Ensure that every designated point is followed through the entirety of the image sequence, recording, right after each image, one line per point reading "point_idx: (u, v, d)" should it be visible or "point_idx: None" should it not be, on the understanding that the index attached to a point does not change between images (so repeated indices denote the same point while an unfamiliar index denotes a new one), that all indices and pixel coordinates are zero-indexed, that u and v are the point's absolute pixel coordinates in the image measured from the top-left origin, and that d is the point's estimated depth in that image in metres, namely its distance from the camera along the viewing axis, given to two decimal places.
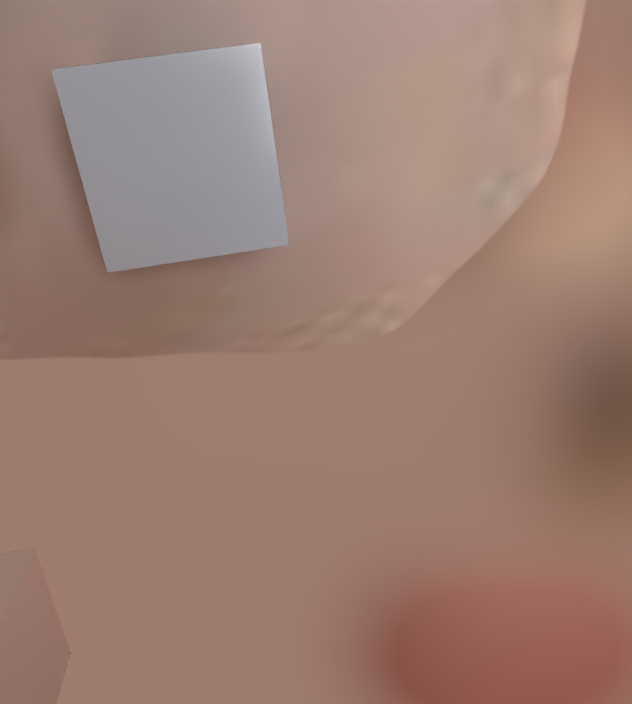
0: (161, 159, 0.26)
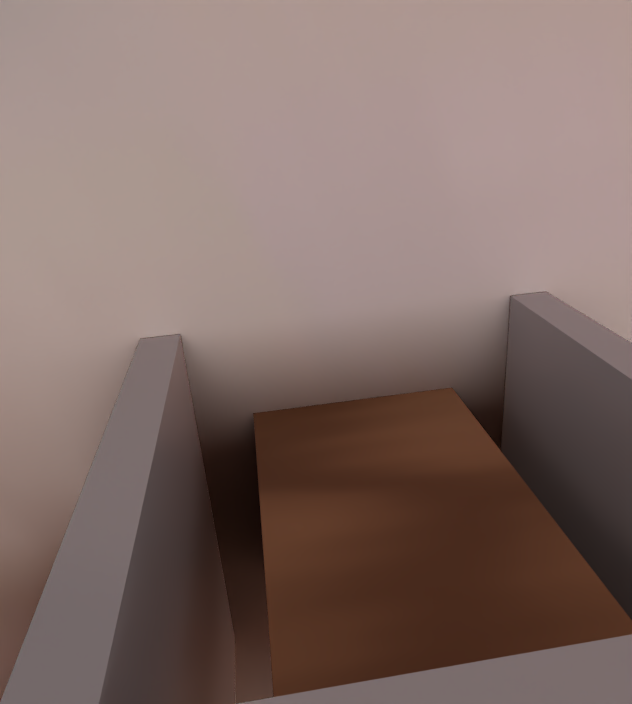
0: None
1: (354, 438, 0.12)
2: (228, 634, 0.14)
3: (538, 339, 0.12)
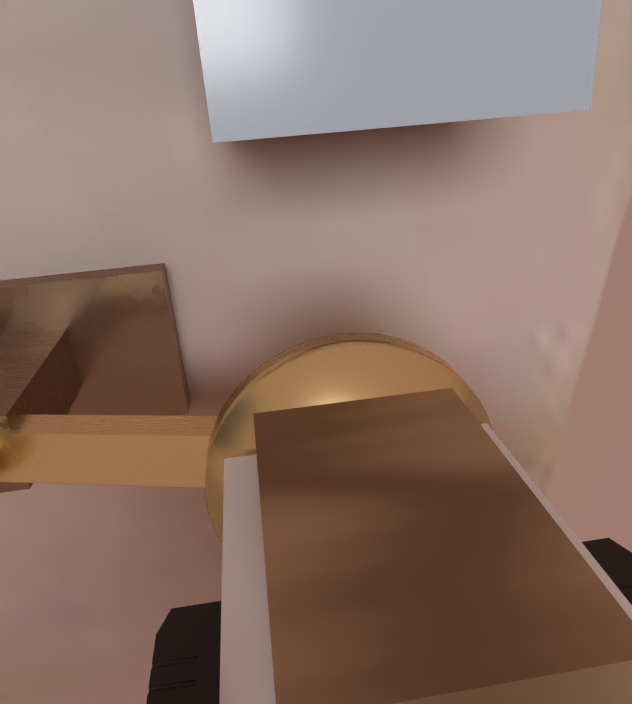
0: None
1: (355, 438, 0.12)
2: None
3: None
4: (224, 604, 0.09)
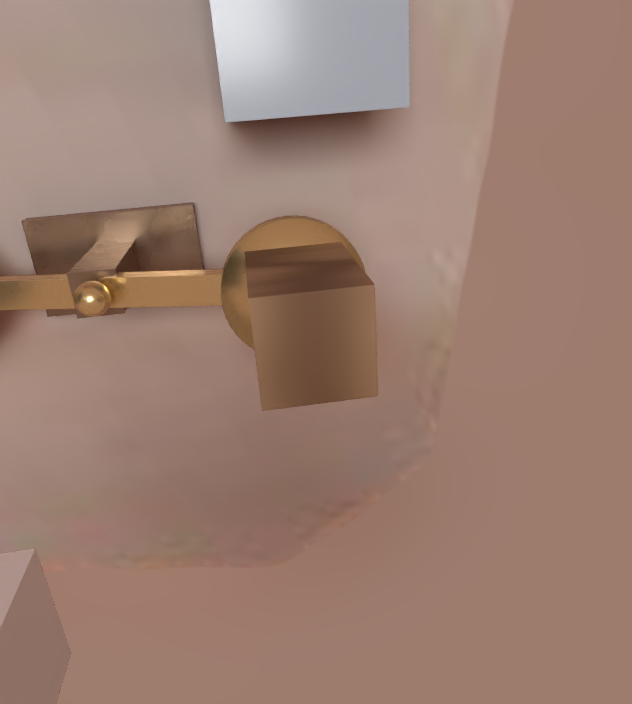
0: (306, 27, 0.26)
1: (289, 255, 0.26)
2: None
3: None
4: None
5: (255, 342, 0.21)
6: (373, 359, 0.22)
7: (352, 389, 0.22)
